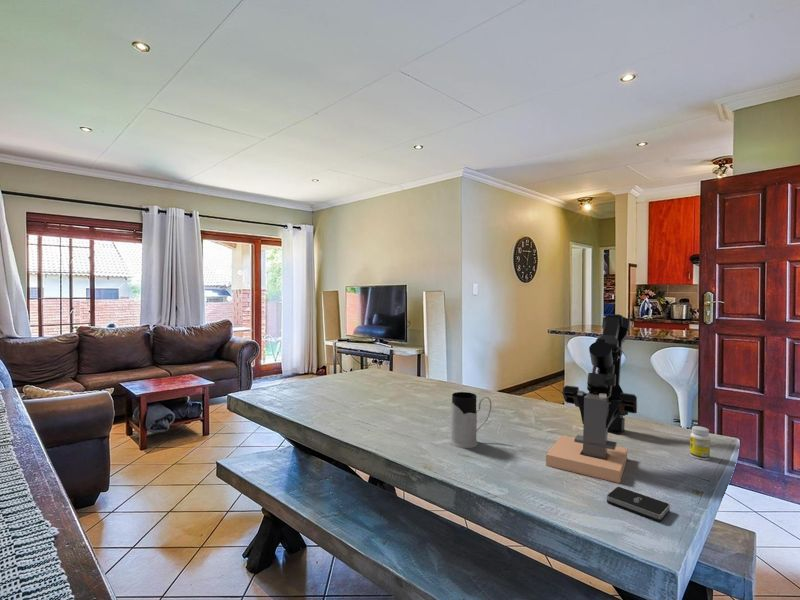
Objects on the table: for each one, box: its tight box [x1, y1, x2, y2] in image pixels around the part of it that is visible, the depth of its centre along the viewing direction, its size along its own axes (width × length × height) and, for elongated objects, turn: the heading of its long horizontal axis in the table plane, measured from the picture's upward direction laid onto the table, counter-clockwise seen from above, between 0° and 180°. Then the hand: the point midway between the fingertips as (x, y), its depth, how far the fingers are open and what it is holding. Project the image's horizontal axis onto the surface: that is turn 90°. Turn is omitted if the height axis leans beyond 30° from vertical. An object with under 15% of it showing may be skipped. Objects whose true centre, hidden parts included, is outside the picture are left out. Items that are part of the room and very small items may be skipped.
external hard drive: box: [606, 486, 671, 523], centre depth 93 cm, size 7×11×2 cm, turn 42°
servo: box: [574, 393, 617, 460], centre depth 114 cm, size 10×4×17 cm, turn 56°
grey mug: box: [449, 391, 492, 449], centre depth 131 cm, size 9×14×15 cm, turn 111°
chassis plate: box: [545, 434, 628, 484], centre depth 116 cm, size 18×18×3 cm
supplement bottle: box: [689, 425, 711, 461], centre depth 121 cm, size 5×5×8 cm
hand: (594, 425), depth 113 cm, fingers closed on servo, 5 cm apart
